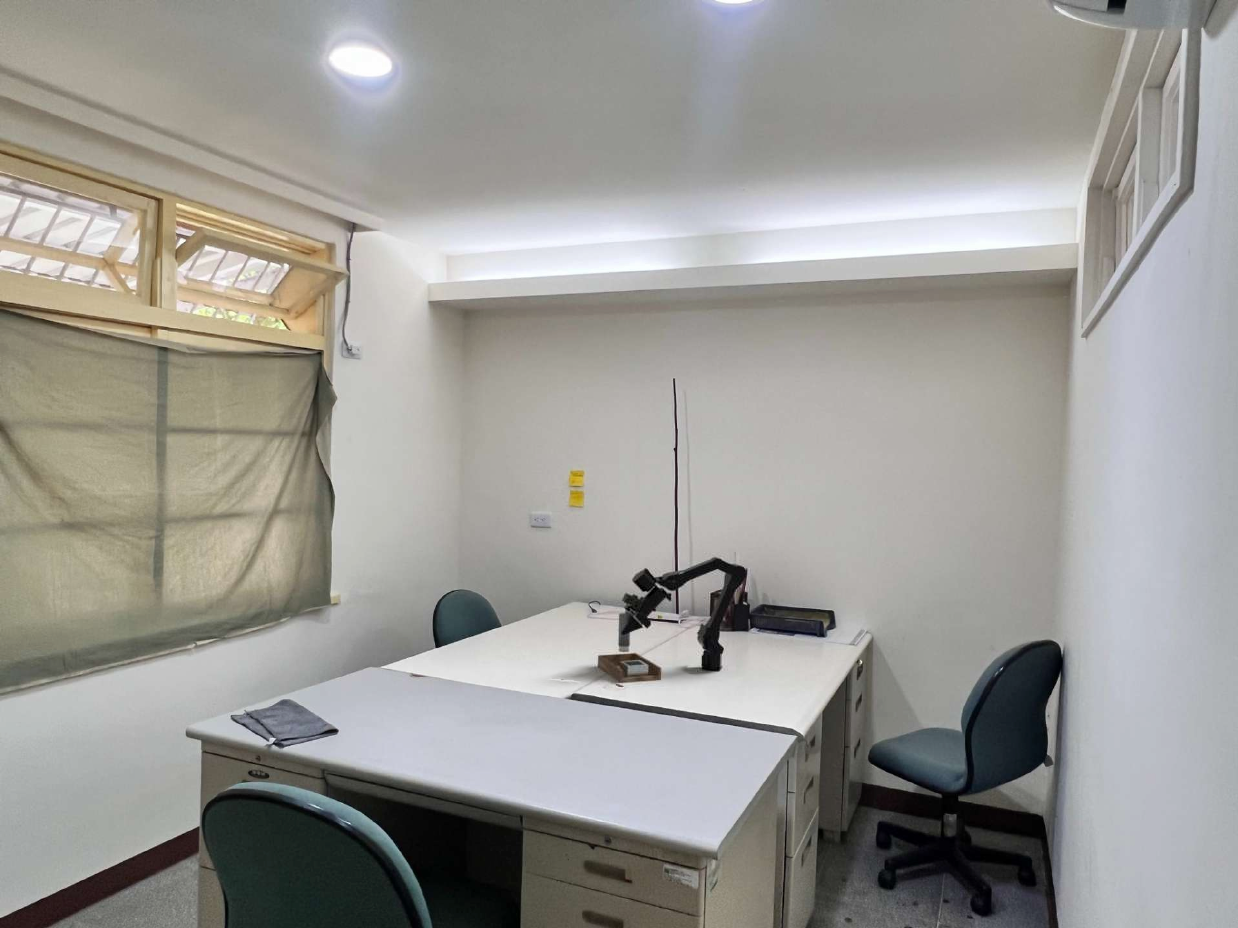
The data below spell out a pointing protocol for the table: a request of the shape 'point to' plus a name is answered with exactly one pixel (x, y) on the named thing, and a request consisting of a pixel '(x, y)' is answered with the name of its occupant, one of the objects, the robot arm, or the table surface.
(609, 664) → the box
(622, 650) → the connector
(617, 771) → the table surface
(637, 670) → the frame
